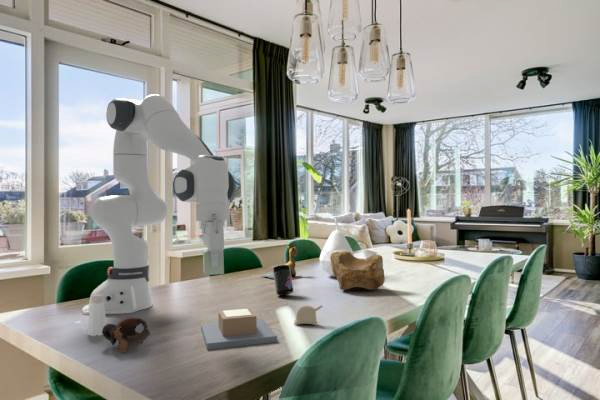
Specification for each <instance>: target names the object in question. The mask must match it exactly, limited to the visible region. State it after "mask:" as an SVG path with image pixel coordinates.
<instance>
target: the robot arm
mask: <svg viewBox="0 0 600 400" xmlns="http://www.w3.org/2000/svg"><path fill="white" fill-rule="evenodd" d="M105 113H106V121H107V123H108V126H109V127H110V128H111V129H113V130H115V134H114V141H113V148H112V149H113V150H112V151H113V153H112V154H113V156H112V157H113V159H112V160H113V162H112V163H113V169H112V173H113V174H112V175H113V177H114V179H115V180H116V181H117V182H118V183H120V184H122V185H123V186H125V187H126V188H127V189H128V192H129V195H128V194H127V195H126V194H125V195H106V196H101V197H98V198H95V200H94V201H93V203H92V204H91V207H90V216H91V219H92V221H93V223H94V224H95V225H96V226H98V227H100V228H101V229H102V230H103V231H104V232H105V233H106V234H107V236H108V237H109V239H110V242H111V244H112V253H113V266H109V267H108V268H107V270H106V271H107V279H106V280H105V281H103V282H102V283H101V284H99V285H98V286H97V287H96V288H95V289H93V291H92V292H91V294H90V297H89V302H88V304H86V305H84V306H83V307H82V309H81V313H82V314H83V315H86V316H89V311H90V304H92V297H91V296H92V295H94V294H102V303H104V307H105V315H113V314H114V315H115V314H120V315H121V314H133V313H135V312H138V311H142V310H146V309H148V308H149V309H150V308H151V307H152V306H153V305H154V303H153V300H152V295H151V291H150V283H149V282H150V278H151V277H150V273H151V272H150V271H151V270H150V265H149V263H148V261H149V259H148V258H149V256H148V254H149V253H148V251H149V250H148V248H149V247H148V244H147V242H146V241H145V240H144V239H143V238H141V237H138V235H137V236H136V235H135V234H134V232H133V230H132V227H147V226H149V227H150V226H154V225H157V224H158V225H159V224H161V223H163V222H164V220H165V219H166V217H167V213H168V208H167V207H168V206H167V204H166V201H164V199H163V198H162V197H160V196H159V195H158V194H157V193H156V192H155V190H154V189H153V186H152V185H151V182H150V180H149V179H150V178H149V172H148V147H147V145H148V139H150V140H151V142H152V143H153V144H154V145H155V146H156V147H157V148H159V149H161V150H162V151H166V152H169V153H173V154H177V155H180V156H182V157H183V156H184V157H185V158H188V159H190V160H192V162H193V164H191V165H190V166H188V167H187V168H185V169H181V170H179V171H178V172H177V174H176V175H175V176H174V179H173V184H172V187H173V192H174V195H175V196H176V197H177V199H178V200H180V202H183V203H195V221H197V222H200V227H201V234H202V242H203V245H204V246H205V247H206V248H207V250H209V251H211V266H212V267H218V259H219V251H224V249H225V236H224V235H225V234H224V232H225V231H224V227H225V221H229V220H230V201H231V199H232V198H233V196H234V195H235V192H236V189H237V185H236V180H235V178H234V176H233V174H232V173H231V172H230V171H229V168H228V165H227V161H226V159H225V158H224V157H222V156H219V155H214V153H212V151H211V150H210V148H209V147H208V146H207V144H206V143H205V142H204V141H203V140H202V138H201V137H199V136H198V135H197V134H195V133H194V131H192V130H191V129H190V128H189V127H188V126H187V125H186V123H185V122H184V121H183V120H182V118H181V117H180V114H179V113H178V111H177V110H176V109H175V107H174V106H173V104H172V103H171V102H170V101H169V99H167V98H166V97H165V96H163V95H161V94H158V93H157V94H156V93H155V94H149V95H147V96H146V97H144V99H142V100H139V99H127V98H124V97H123V98H122V97H121V98H120V97H119V98H114V99H112V100H111V101H110V102H109V103H108V105H107V108H106V112H105Z"/></svg>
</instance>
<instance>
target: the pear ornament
mask: <svg viewBox="0 0 600 400" xmlns="http://www.w3.org/2000/svg"><path fill="white" fill-rule="evenodd" d="M334 223H335V230H333V231H332V232H331V233H330V234H329V236H328V238H327V240H326V241H325V244H324V246H323V248H322V250H321V251H320V255H319V258H318V259H319V263H320V266H321V269H322V271H324V272H325V273H326V274H328V275H330V276H331V277H336V276H335V275H334V274H333V270H332V266H331V259H330V257H331V254H332V253H334V252H344V251H347V252H350V253H351V254H352V255H353V256H354V257H355V255H354V252H353V251H354V250H353V249H352V247H351V245H350V243H349V242H348V240H347V238H346V236H345V234H344V233H343V232H342V231H341V230H343V231H345V232H347V231H348V228H347V226H343V225H340V224H338V221H337V219H336V218H335V219H334ZM339 229H341V230H339ZM336 278H337V277H336Z"/></svg>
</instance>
